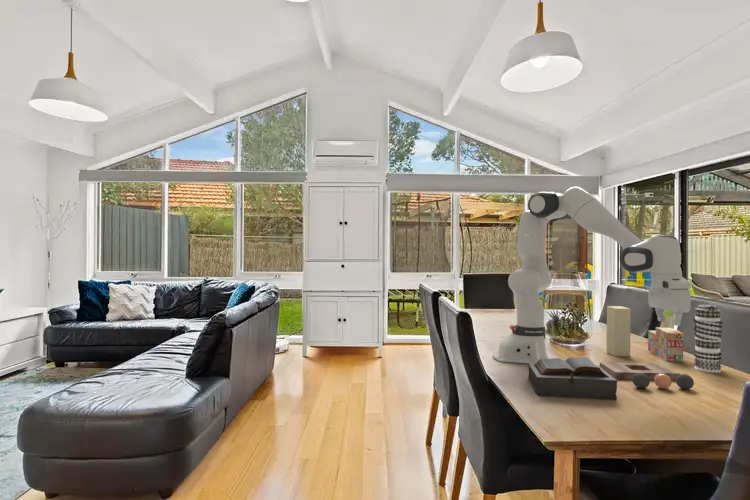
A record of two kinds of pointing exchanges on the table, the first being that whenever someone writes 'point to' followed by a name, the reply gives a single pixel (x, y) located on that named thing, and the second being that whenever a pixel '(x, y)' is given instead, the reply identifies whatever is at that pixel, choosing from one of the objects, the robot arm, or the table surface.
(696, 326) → the black white tall cylinder
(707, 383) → the table surface
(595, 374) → the bible
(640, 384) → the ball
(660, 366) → the walnut board
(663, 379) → the terracotta ball
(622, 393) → the table surface
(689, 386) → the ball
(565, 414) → the table surface
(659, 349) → the stack of blocks
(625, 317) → the toy refrigerator
